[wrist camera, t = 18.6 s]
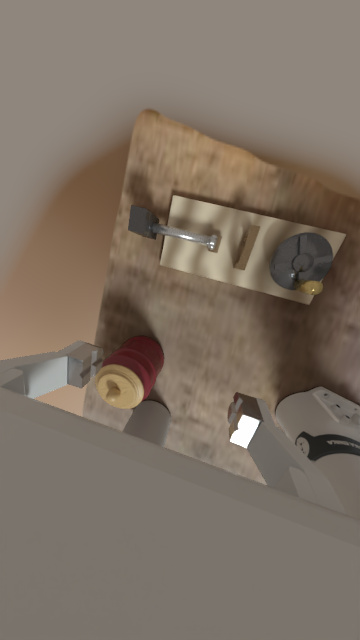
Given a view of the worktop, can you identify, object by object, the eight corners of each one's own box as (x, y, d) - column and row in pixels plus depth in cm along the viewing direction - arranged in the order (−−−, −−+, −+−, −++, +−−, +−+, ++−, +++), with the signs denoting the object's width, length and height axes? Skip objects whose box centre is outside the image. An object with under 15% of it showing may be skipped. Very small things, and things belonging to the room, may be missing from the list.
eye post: (252, 232, 34) (260, 226, 28) (239, 269, 36) (244, 270, 31) (246, 231, 34) (252, 224, 29) (233, 268, 36) (237, 268, 31)
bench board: (340, 235, 33) (358, 231, 29) (305, 303, 37) (316, 307, 33) (174, 197, 36) (170, 189, 32) (161, 264, 41) (156, 264, 37)
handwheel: (282, 299, 34) (296, 305, 28) (260, 255, 32) (270, 252, 27) (338, 271, 31) (366, 272, 25) (316, 220, 29) (340, 210, 23)
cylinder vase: (153, 392, 53) (106, 493, 30) (179, 419, 54) (154, 535, 31) (128, 409, 57) (70, 508, 34) (153, 433, 59) (113, 545, 35)
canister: (161, 333, 46) (133, 371, 30) (168, 374, 50) (146, 427, 33) (119, 335, 49) (71, 371, 32) (128, 373, 53) (90, 423, 36)
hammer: (218, 234, 35) (220, 226, 28) (213, 254, 36) (213, 251, 29) (142, 215, 36) (126, 204, 30) (139, 235, 38) (123, 228, 31)
